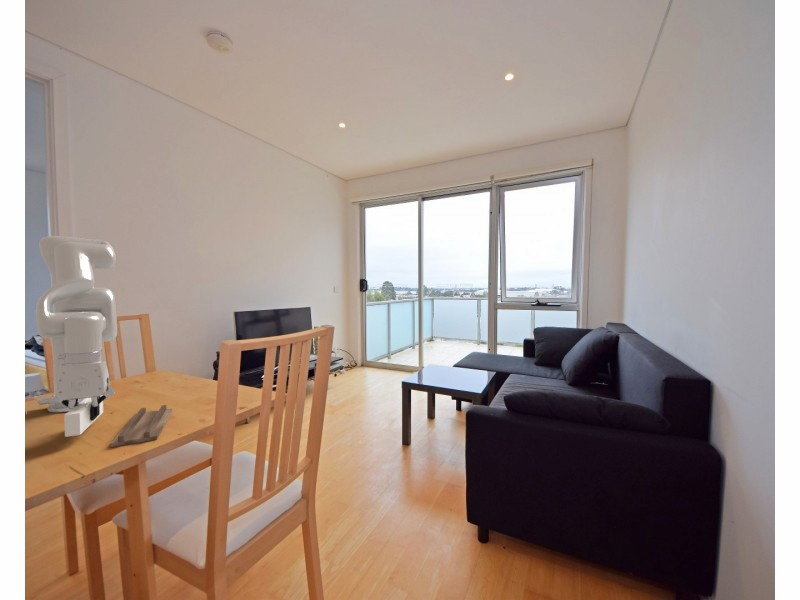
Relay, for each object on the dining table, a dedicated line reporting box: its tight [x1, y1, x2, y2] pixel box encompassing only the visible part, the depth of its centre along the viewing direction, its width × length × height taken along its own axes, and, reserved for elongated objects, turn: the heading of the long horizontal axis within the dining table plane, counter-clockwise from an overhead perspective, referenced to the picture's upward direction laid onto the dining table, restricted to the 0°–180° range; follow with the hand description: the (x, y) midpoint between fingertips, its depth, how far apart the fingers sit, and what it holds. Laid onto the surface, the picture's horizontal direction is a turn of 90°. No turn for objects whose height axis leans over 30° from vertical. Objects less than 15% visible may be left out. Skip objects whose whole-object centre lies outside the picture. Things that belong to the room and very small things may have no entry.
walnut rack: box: [109, 404, 173, 448], centre depth 95 cm, size 10×22×2 cm, turn 27°
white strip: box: [63, 395, 104, 438], centre depth 91 cm, size 3×16×6 cm, turn 27°
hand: (85, 419), depth 91 cm, fingers closed on white strip, 3 cm apart
